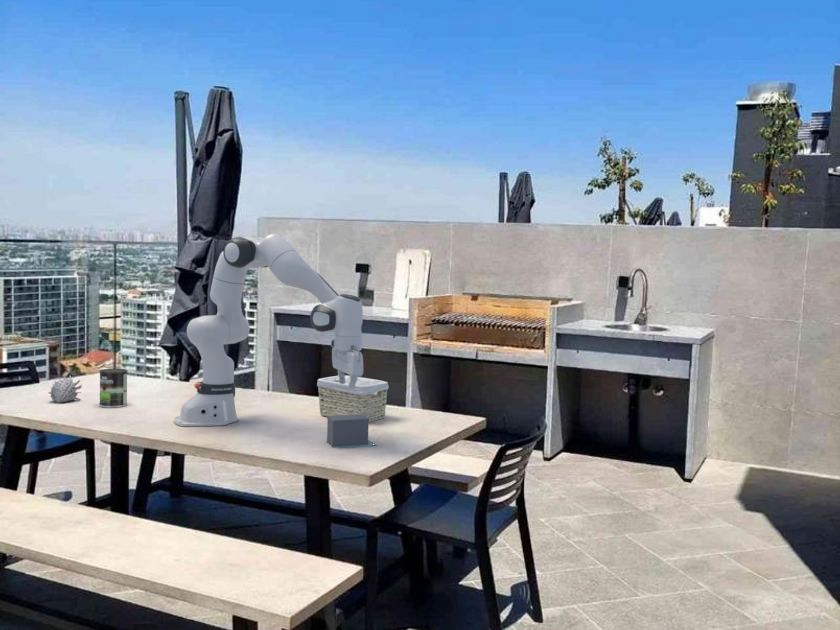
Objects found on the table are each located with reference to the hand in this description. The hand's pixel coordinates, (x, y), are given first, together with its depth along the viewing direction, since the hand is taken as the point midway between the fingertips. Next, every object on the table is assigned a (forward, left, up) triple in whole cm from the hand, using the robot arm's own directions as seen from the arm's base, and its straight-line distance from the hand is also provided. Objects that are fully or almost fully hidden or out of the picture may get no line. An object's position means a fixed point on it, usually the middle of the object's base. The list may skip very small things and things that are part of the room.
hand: (346, 385), depth 256 cm
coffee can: (-65, +89, -19) cm, 112 cm away
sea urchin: (-82, +103, -19) cm, 133 cm away
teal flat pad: (+2, -1, -19) cm, 19 cm away
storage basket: (+17, +38, -19) cm, 46 cm away
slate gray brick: (0, -1, -19) cm, 19 cm away
